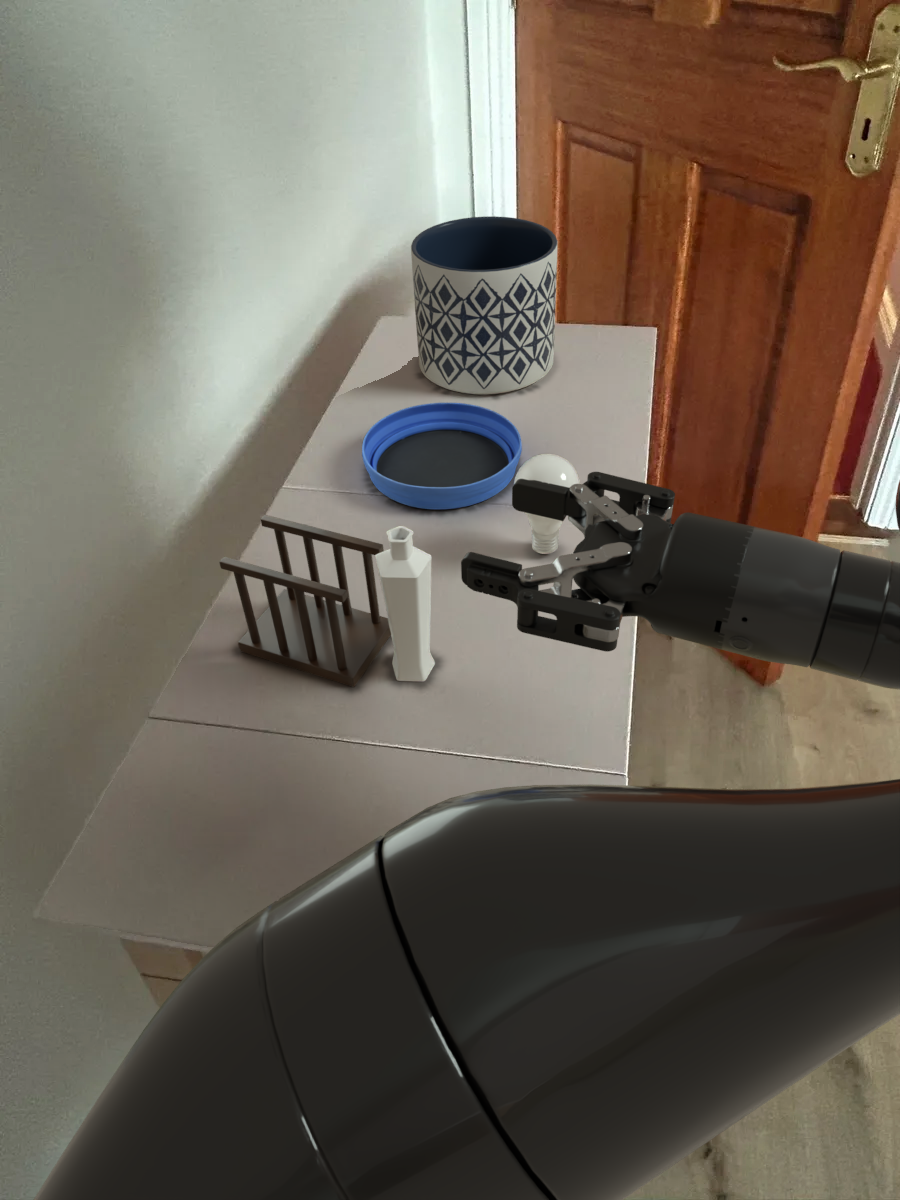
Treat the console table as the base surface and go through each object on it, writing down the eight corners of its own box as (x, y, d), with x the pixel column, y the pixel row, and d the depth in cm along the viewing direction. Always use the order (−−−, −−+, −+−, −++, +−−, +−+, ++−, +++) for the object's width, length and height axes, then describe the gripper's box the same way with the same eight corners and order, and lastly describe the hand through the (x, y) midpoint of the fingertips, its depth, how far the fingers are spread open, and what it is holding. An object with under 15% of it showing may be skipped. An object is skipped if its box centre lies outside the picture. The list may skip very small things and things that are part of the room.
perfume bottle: (375, 671, 81) (357, 538, 71) (408, 643, 84) (395, 511, 74) (413, 694, 79) (400, 560, 69) (446, 665, 81) (438, 532, 71)
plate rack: (395, 628, 85) (385, 541, 78) (354, 687, 80) (339, 599, 73) (286, 597, 89) (267, 511, 82) (240, 651, 84) (215, 564, 77)
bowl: (373, 525, 97) (369, 498, 95) (357, 437, 111) (354, 411, 108) (537, 502, 99) (538, 475, 97) (503, 419, 112) (503, 393, 110)
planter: (440, 408, 115) (433, 281, 104) (404, 347, 128) (394, 228, 117) (574, 383, 118) (581, 257, 107) (526, 325, 131) (527, 208, 121)
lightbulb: (541, 524, 96) (543, 433, 89) (588, 549, 93) (595, 457, 85) (500, 552, 93) (499, 461, 86) (548, 579, 89) (551, 486, 82)
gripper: (776, 473, 56) (529, 424, 61) (730, 619, 47) (441, 546, 52) (754, 567, 61) (526, 515, 66) (708, 716, 51) (446, 641, 57)
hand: (489, 528), depth 59 cm, fingers open, 8 cm apart
